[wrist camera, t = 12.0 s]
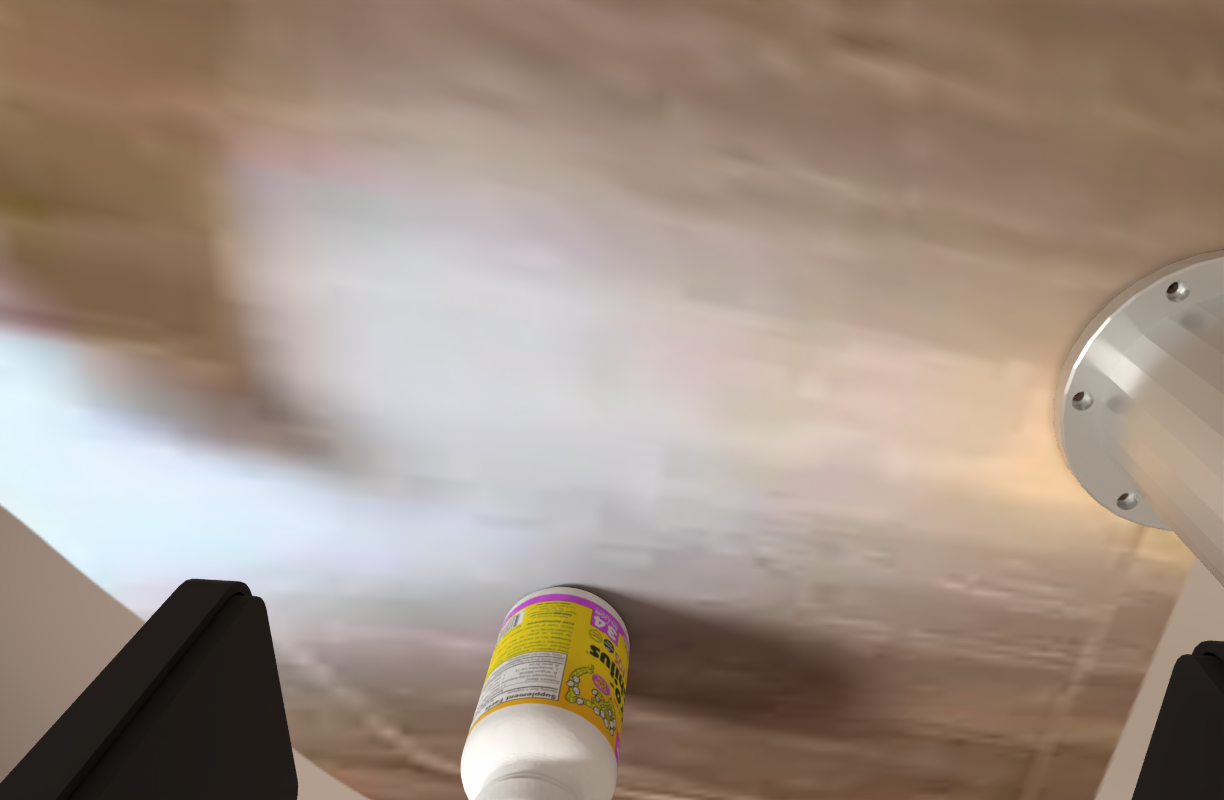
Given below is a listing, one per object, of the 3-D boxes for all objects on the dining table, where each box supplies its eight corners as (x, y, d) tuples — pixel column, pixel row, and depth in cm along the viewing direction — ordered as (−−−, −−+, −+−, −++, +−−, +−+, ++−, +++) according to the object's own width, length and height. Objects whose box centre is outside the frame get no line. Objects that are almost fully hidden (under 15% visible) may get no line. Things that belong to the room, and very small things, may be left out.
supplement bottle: (640, 679, 47) (623, 903, 35) (518, 689, 48) (462, 911, 36) (618, 573, 45) (591, 777, 33) (489, 586, 46) (419, 789, 34)
